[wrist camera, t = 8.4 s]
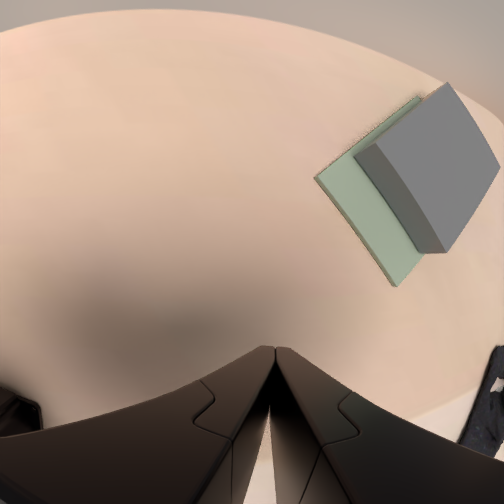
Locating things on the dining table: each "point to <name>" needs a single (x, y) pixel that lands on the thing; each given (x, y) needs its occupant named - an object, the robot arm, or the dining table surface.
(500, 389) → the butter knife
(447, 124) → the gray rectangular block
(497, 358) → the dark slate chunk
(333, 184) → the mat
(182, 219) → the dining table surface
